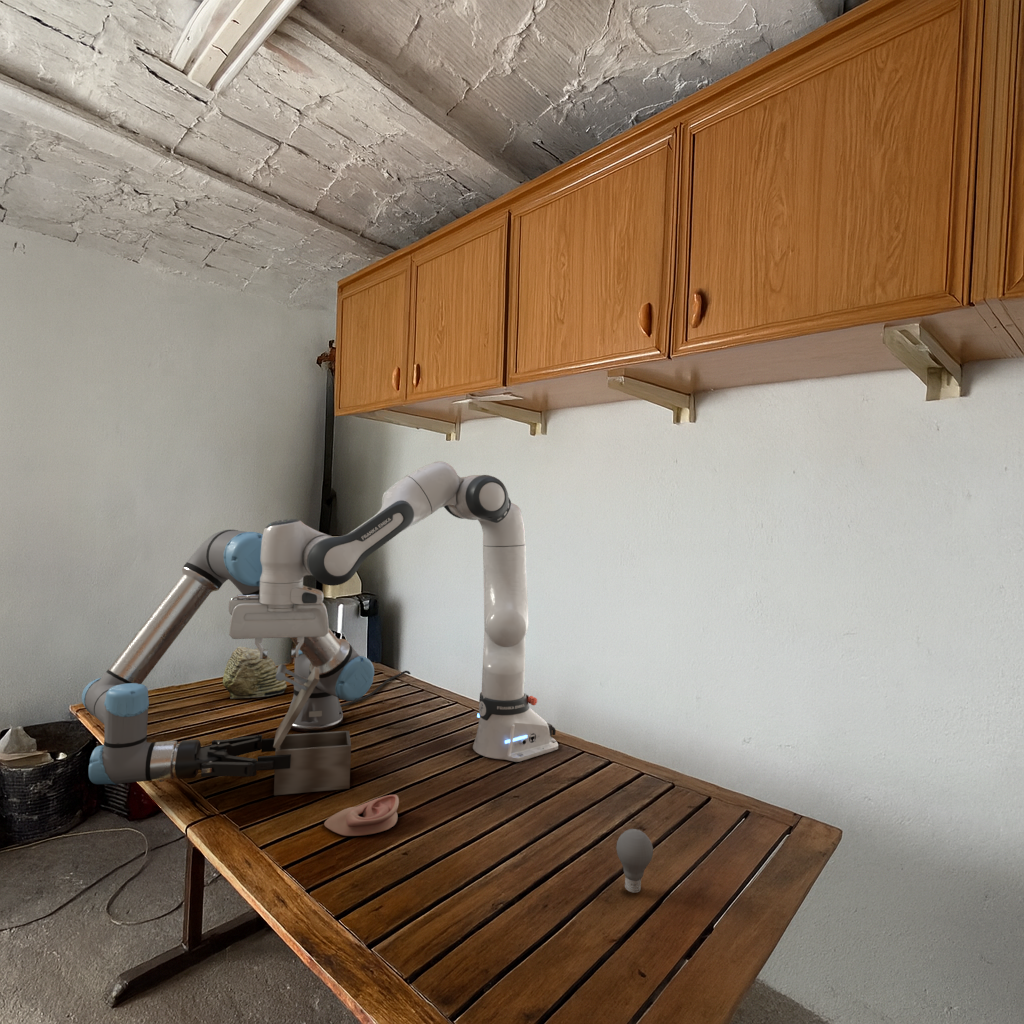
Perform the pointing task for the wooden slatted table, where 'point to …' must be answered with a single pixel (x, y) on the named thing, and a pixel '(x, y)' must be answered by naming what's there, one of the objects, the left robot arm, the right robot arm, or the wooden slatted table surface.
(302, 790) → the chest
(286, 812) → the wooden slatted table surface
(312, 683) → the lid
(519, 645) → the right robot arm
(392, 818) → the anatomical model
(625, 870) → the light bulb
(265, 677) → the fossil
